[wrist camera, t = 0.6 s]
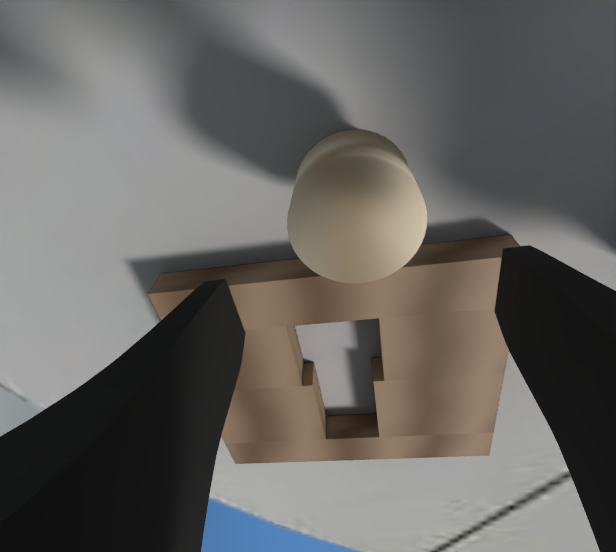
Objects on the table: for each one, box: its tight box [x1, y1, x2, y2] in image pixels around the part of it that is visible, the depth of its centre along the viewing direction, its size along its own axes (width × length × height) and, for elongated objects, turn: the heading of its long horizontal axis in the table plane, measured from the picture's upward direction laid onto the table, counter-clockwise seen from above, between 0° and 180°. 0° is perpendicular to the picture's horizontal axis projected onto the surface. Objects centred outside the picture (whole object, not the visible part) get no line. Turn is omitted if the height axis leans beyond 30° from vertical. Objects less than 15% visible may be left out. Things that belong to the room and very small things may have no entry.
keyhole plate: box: [148, 235, 520, 464], centre depth 26 cm, size 20×18×2 cm
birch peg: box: [287, 129, 427, 283], centre depth 16 cm, size 5×5×6 cm
